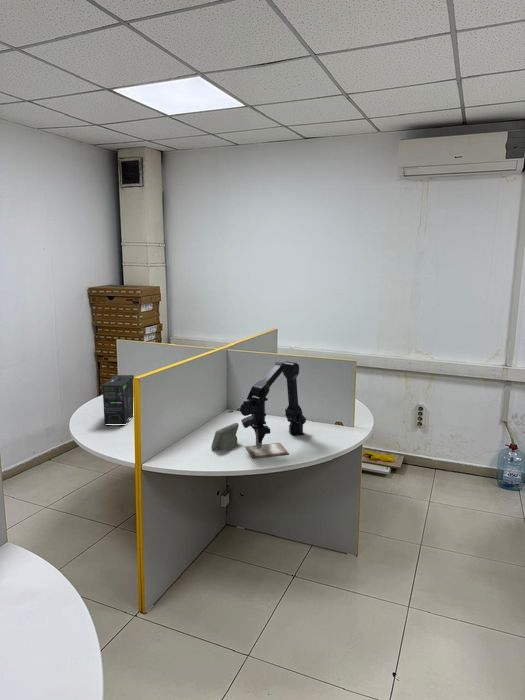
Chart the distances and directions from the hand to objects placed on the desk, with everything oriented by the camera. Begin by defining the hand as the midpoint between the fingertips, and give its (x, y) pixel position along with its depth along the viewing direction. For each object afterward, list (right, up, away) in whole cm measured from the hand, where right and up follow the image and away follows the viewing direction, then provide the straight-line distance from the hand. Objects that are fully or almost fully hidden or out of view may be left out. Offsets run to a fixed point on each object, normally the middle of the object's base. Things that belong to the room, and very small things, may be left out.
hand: (259, 441), depth 234 cm
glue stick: (0, -2, 0) cm, 2 cm away
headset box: (-80, +4, +44) cm, 91 cm away
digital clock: (-17, -3, +5) cm, 18 cm away
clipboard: (+4, -4, -1) cm, 6 cm away
